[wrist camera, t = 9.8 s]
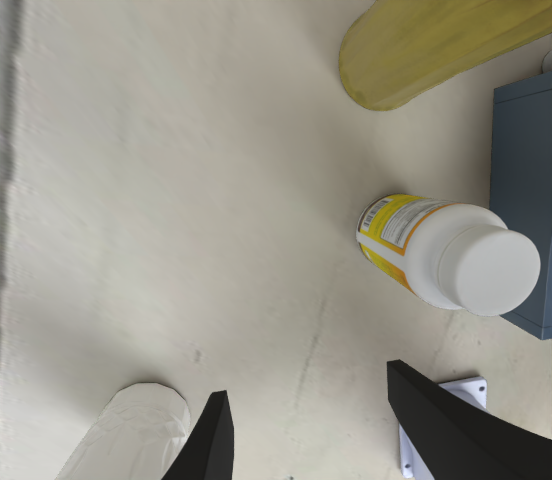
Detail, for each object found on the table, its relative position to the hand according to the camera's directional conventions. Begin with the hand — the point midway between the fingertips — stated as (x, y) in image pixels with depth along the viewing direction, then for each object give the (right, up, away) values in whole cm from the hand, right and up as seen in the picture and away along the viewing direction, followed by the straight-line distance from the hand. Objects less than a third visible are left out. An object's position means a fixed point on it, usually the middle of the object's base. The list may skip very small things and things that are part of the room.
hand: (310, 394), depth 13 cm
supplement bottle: (+7, +8, +10) cm, 14 cm away
